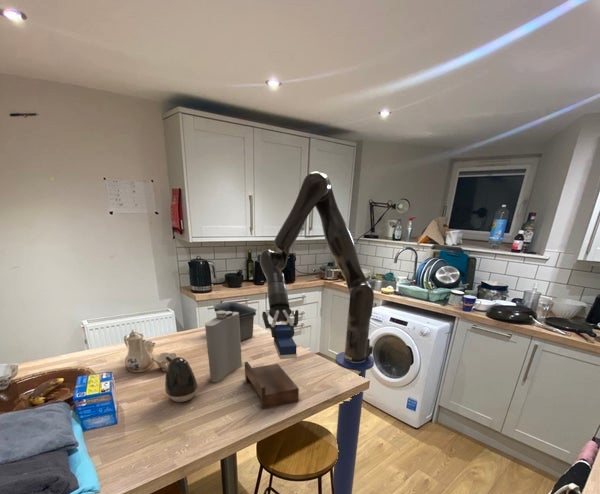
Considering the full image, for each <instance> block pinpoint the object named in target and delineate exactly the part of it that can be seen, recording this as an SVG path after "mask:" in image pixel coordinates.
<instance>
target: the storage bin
mask: <svg viewBox="0 0 600 494" xmlns="http://www.w3.org/2000/svg"><path fill="white" fill-rule="evenodd" d="M212 307H213V310H214V312H216V311H226V312H227V311H231V312H238V313H239V322H240V340H241V341H244V340H248V339H250V338H252V337H253V336H254V320H255V316H256V315H257V309H256V308H253V307H252V306H249V305H245V304H242V303H239V302H237V301H226V302H225V301H224V302H222V303H218V304H213V306H212Z"/></svg>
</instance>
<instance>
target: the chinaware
mask: <svg viewBox="0 0 600 494" xmlns="http://www.w3.org/2000/svg"><path fill="white" fill-rule="evenodd" d="M123 341H124V345H125V346H126V348H127V349H128V350H127V354H126V357H125V359H124V365H125V368H127V369H128V371H129V372H131V373H143V372H146V371H148V370H151V369H152V368H153V364H154V363H156V366H157V367H158V368H160V369H161V371H163V372H166V371H167V367H168V365H169V362H168V361H167V360H166V357H169V358H171V359H173V358H176V357H177V354H176V353H174V352H171V353H169V352H162V353H160V354H157V355H152V353H153V352H154V349H155V345H156V342H152V341H151V340H146V339H144V334H143V333H139V332H137V331H136V330H135V329H132V330H131V332H130V333H129V334H125V335H124V336H123Z"/></svg>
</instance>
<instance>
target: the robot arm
mask: <svg viewBox="0 0 600 494" xmlns="http://www.w3.org/2000/svg"><path fill="white" fill-rule="evenodd" d="M314 208H315V209H316V210H317V212H318V215H319V219H320V222H321V226H322V232H323V236H324V240H325V242H326V245H327V248H328V250H329V252H330V253H331V256H332V258H333V260H334V262H335V264H336V266H338V268H339V270H340V271H341V273H342V275H343V278H344V280H345V284H346V286H347V290H348V296H349V300H348V301H349V302H348V312H347V315H346V316H347V317H346V331H345V343H344V352H345V353H344V360H345V361H347V362H349V363H354V364H360V363H364V362H365V361H366V360H368V357H369V356H371V355H372V354H373V352H374V351H373V350H374V347H373V346H372V345H371V343H370V342H371V340H370V338H369V335H370V334H369V333H370V325H371V318H372V316H373V315H372V314H373V308H374V300H375V293H374V289H373V287H372V286H371V284H370V282H369V281H368V279H367V278H366V275H365V273H364V271H363V269H362V268H361V264H360V261H359V255H358V253H357V248H356V245H355V242H354V240H353V237H352V235H351V232H350V230H349V228H348V226H347V223H346V221H345V218H344V217H343V215H342V213H341V211H340V209H339V207H338V204H337V200H336V198H335V194H334V191H333V187H332V183H331V180H330V178H329V176H328V175H327V174H325V173H324V172H322V171H312V172H310V173H308V174H307V175H305V177H304V179H303V181H302V183H301V187H300V189H299V192H298V194H297V197H296V199H295V202H294V204H293V206H292V208H291V209H290V212H289V214H288V215H287V217H286V219H285V221H284V222H283V224H282V226H281V228H280V229H279V230H278V232H277V234H276V236H275V238H274V240H273V244H274V246H275V247H276V248H277V249H278V250H279V251H278V252H277V251H275V250H272V249H270V248H269V249H268V248H267V249H264V250H262V251H261V253H260V255H259V265H260V267H261V270H262V272H263V274H264V276H265V278H266V286H267V287H266V288H267V299H268V307H269V310H268V311H262V313H261V317H262V320H263V323H264V327H265V329H266V330H267V329H269V330H270V333H271V334H270V335H271V337H272V338H273V340H274V339H276V330H275V327H274V326H275V325H277V324H276V323H281V322H282V323H285V324H289V326H290V328H291V329H292V338H293V337H294V336H295V328H297V327H298V324H299V309H296V310H292V309H291V307H290V301H289V295H288V289H287V286H286V280H285V279H286V278H285V275H284V273H283V271H282V270H284V268H285V267H286V265H287V262H288V259H289V255H290V252H291V248H292V247H293V246H294V244H295V242H296V241H297V239H298V237H299V235H300V233H301V231H302V229H303V227H304V225H305V223H306V221H307V218H308V217H309V216H310V213H311V212H312V211H313V209H314ZM290 316H292V317H293V321H292V318H291V317H290ZM269 317H271V319H272V322H271V323H270V322H269V319H268V318H269ZM293 339H294V338H293Z"/></svg>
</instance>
